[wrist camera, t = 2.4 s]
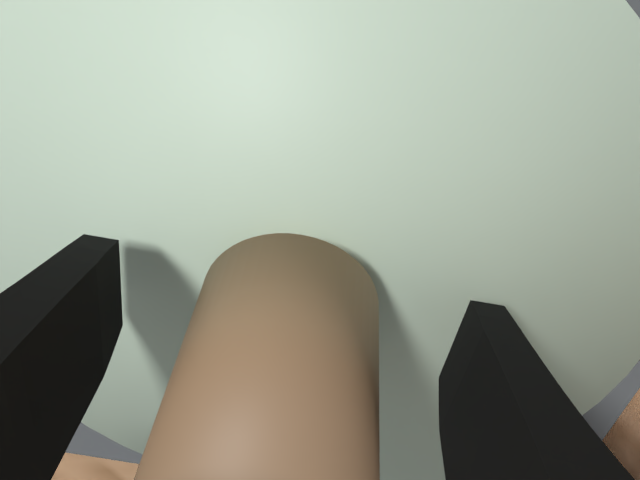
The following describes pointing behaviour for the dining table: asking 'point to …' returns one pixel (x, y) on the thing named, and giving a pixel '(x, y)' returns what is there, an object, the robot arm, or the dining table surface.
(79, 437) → the mat
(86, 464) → the dining table surface
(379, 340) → the lid
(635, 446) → the dining table surface
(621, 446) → the dining table surface
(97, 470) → the dining table surface
